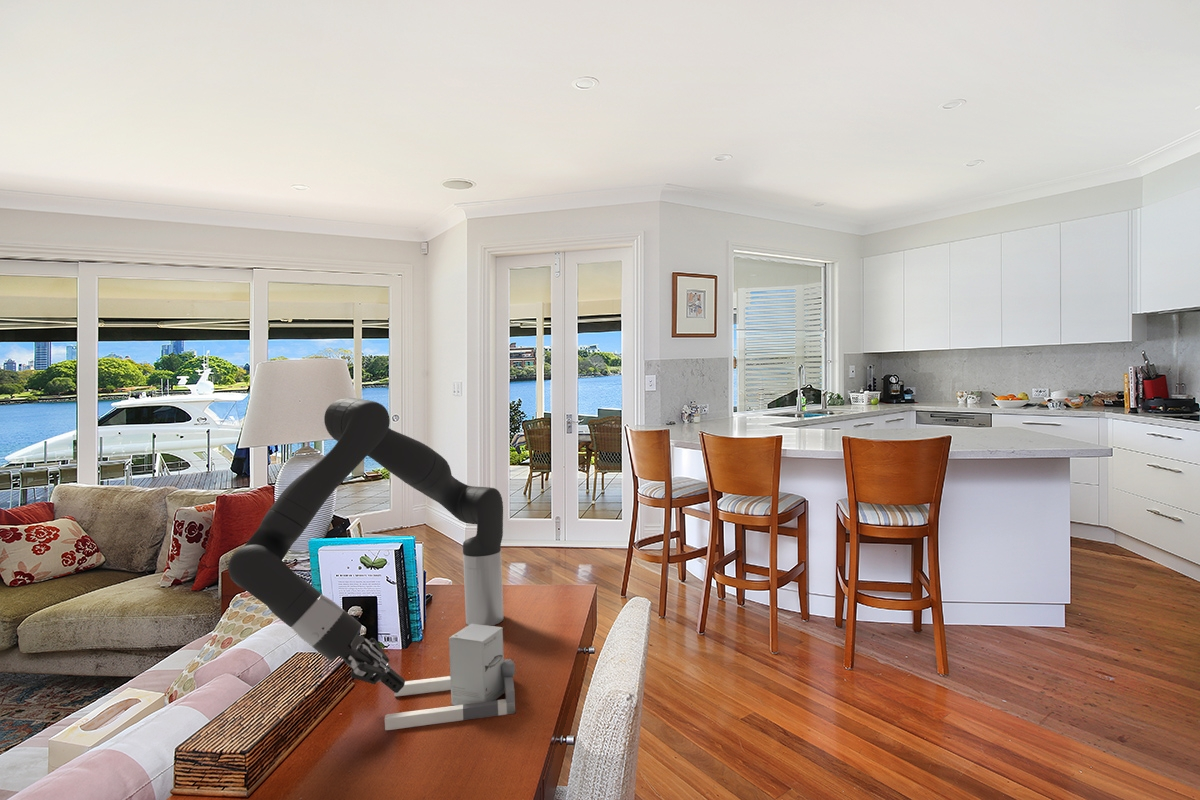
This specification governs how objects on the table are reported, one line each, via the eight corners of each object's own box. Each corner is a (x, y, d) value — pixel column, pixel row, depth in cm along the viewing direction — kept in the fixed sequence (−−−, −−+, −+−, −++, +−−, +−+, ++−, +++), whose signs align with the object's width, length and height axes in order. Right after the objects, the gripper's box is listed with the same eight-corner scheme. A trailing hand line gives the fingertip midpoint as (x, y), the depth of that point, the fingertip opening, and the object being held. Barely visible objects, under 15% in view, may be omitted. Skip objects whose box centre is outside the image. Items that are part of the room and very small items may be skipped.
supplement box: (484, 712, 112) (481, 641, 112) (450, 705, 115) (447, 636, 115) (506, 692, 119) (503, 626, 118) (473, 686, 122) (470, 622, 121)
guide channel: (395, 692, 120) (394, 661, 120) (514, 678, 124) (512, 648, 124) (385, 730, 107) (383, 695, 107) (518, 712, 111) (516, 679, 111)
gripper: (333, 623, 105) (412, 687, 108) (349, 598, 118) (419, 656, 121) (300, 658, 104) (381, 722, 107) (320, 629, 117) (391, 687, 120)
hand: (401, 687), depth 114 cm, fingers closed
